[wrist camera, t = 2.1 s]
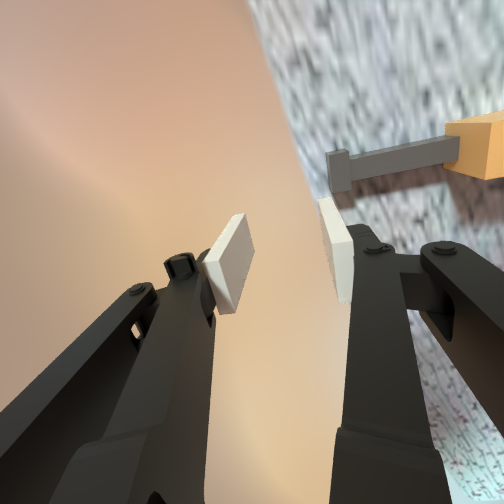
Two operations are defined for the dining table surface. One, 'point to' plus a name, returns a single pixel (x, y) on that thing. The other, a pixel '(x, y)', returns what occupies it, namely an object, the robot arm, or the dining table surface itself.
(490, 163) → the plug
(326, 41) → the dining table surface
